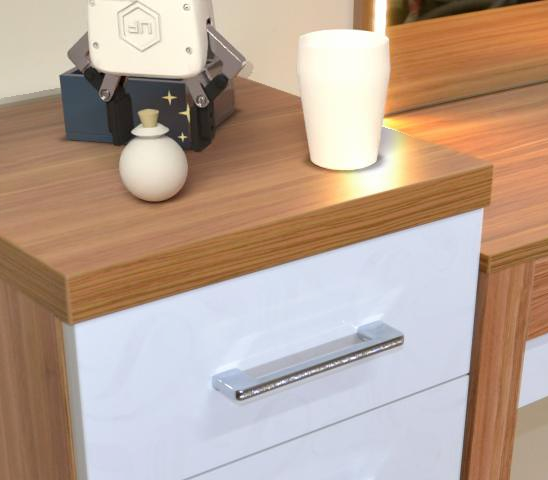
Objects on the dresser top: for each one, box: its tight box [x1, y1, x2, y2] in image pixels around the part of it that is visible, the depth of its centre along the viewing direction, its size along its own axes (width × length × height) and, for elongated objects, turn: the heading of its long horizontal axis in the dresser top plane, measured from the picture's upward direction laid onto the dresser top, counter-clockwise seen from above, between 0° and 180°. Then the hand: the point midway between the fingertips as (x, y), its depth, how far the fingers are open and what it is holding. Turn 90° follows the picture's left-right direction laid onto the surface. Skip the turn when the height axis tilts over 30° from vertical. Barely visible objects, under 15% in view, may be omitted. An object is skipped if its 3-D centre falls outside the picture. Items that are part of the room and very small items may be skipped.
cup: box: [296, 28, 391, 171], centre depth 112 cm, size 9×9×12 cm
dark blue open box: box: [58, 56, 236, 150], centre depth 123 cm, size 15×14×7 cm
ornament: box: [118, 92, 190, 202], centre depth 102 cm, size 6×7×10 cm
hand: (162, 142), depth 102 cm, fingers closed on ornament, 6 cm apart
